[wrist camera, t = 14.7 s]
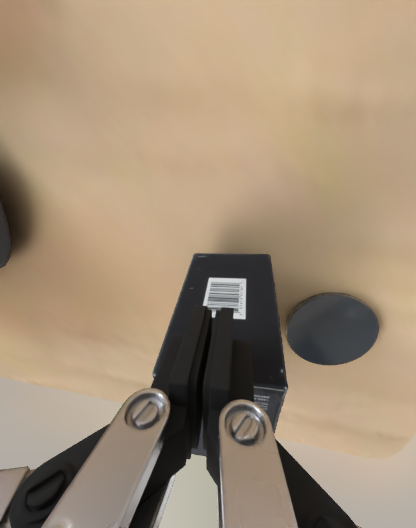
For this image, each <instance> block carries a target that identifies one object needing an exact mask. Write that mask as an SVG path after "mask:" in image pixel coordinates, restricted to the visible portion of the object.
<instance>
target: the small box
mask: <svg viewBox="0 0 416 528" xmlns="http://www.w3.org/2000/svg"><path fill="white" fill-rule="evenodd" d="M195 305H202V306H207V307H208V309H211V310H212V331H213V325H214V320H215V314H216V310H221V307H229V308H234V315H233V334H232V339H235V340H246V341H251V350H252V368H253V387H254V403H256V404H257V405H259V406H260V407H261V408H263V410H264V411H265V412H266V414H267V415H268V417H269V419H270V422H271V425H272V429H273V433H275V429H276V426H277V422H278V417H279V414H280V412H281V407H282V405H283V402H284V398H285V395H286V392H287V390H288V384H287V380H286V370H285V362H284V354H283V345H282V337H281V330H280V321H279V315H278V308H277V301H276V293H275V284H274V279H273V272H272V265H271V257H270V255H268V254H211V253H204V254H202V253H197V254H196V253H195V254H194V255H193V258H192V261H191V264H190V267H189V269H188V272H187V275H186V278H185V281H184V284H183V287H182V290H181V292H180V295H179V298H178V301H177V304H176V307H175V310H174V313H173V315H172V318H171V321H170V324H169V327H168V330H167V333H166V335H165V338H164V341H163V344H162V347H161V350H160V353H159V356H158V358H157V361H156V364H155V367H154V370H153V378H155V376H156V374H157V371H158V369H159V366H160V364H161V362H162V359H163V357H164V354H165V352H166V349H167V347H168V345H169V342H170V340H171V337H172V335H173V334H181V335H184V334H185V331H186V329H187V326H188V323H189V320H190V317H191V314H192V311H193V308H194V306H195ZM191 454H195V455H202V456H206V457H207V450H203V419H202V426H201V432H200V439H199V445H198V449H195V448H192V452H191Z"/></svg>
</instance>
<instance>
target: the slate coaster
mask: <svg viewBox="0 0 416 528" xmlns="http://www.w3.org/2000/svg"><path fill="white" fill-rule="evenodd" d="M378 333H379V324H378V320H377V317H376V315H375V313H374V312H373V311H372V310H371V308H370V307H369V306H368V305H367V304H366V303H364V302H363V301H362V300H360V299H358V298H356V297H354V296H351V295H347V294H343V293H325V294H320V295H316V296H313V297H311V298H309V299H307V300H305V301H303V302H302V303H300V304H299V305H298V306H297V307H296V308H295V309H294V310H293V311H292V312H291V314H290V315H289V317H288V320H287V323H286V336H287V340H288V343H289V345H290V347H291V348H292V350H293V351H294V352H295V353H296V354H297V355H298V356H300V357H301V358H303V359H305V360H307V361H309V362H312V363H315V364H320V365H339V364H344V363H348V362H351V361H353V360H355V359H357V358H359V357H361V356H362V355H364V354H365V353H366V352H367V351H368V350H370V348H371V347H372V346H373V345H374V343H375V341H376V339H377V337H378Z"/></svg>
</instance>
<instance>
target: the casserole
mask: <svg viewBox="0 0 416 528" xmlns="http://www.w3.org/2000/svg"><path fill="white" fill-rule="evenodd" d="M10 254H11V238H10V231H9V225H8V222H7V218H6V215H5V212H4V209H3V206H2V203H1V201H0V268H1V267H3V266H5V265H6V263H7V261H8V260H9V258H10Z"/></svg>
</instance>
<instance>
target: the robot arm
mask: <svg viewBox="0 0 416 528" xmlns="http://www.w3.org/2000/svg"><path fill="white" fill-rule="evenodd" d="M233 315H234V308H229V307H221V310H216V314H215V320H214V325H213V331H212V310H211V309H208V307H207V306H202V305H195V306H194V308H193V311H192V314H191V317H190V320H189V323H188V326H187V329H186V331H185V334H184V335H181V334H173V335H172V337H171V340H170V342H169V345H168V347H167V349H166V352H165V354H164V357H163V359H162V362H161V364H160V366H159V369H158V371H157V374H156V376H155V378H154V381H153V383H152V386H151V388H147V389H142V390H140V391H137V392H135V393H134V394H133V395H131V396H130V397H129V398H128V399H127V400H126V401H125V402H124V404H123V405H122V407H121V408H120V410H119V411H118V413H117V414H116V416H115V417H114V419H113V420H112V422H111V423H110V424H108V425H107V426H105V427H103V428H102V429H100V430H98V431H97V432H95V433H93V434H92V435H90V436H88V437H87V438H85V439H83V440H82V441H80V442H78V443H77V444H75V445H73V446H72V447H70V448H68V449H67V450H65V451H63V452H62V453H60V454H58V455H57V456H55V457H53V458H52V459H50V460H48V461H47V462H45V463H44V464H42V465H41V466H40V467H38V468H37V469H34V470H30V469H29V467H28V466H27V467H20V468H11V469H3V470H0V528H158V527H159V524H160V521H161V518H162V515H163V512H164V509H165V506H166V504H167V501H168V498H169V495H170V492H171V489H172V486H173V483H174V479H175V474H176V473H177V472H178V471H179V470H180V469H181V468H183V467H184V466H185V464H186V459H190V458H191V452H192V448H195V449H198V445H199V439H200V432H201V426H202V419H203V450H207V470H208V472H209V473H210V475H211V477H212V478H213V480H214V481H215V483H216V485H217V504H218V528H361V527H359V526H356V525H355V524H354V522H353V521H352V520H351V519H350V517H349V516H348V515H347V514H346V513H345V512H344V511H343V510H342V509H341V508H340V507H339V505H338V504H337V503H335V501H334V500H333V499H332V498H331V497H330V496H329V495H328V494H327V493H326V492H325V491H324V490H323V489H322V488H321V487H320V485H319V484H318V483H317V482H316V481H315V480H314V479H313V478H312V477H311V476H310V475H309V474H308V473H307V472H306V471H305V470H304V469H303V468H302V467H301V465H300V464H299V463H298V462H297V461H296V460H295V459H294V458H293V457H292V456H291V455H290V454H289V453H288V452H287V451H286V450H285V449H284V448H283V446H282V445H281V444H280V443H279V442H278V441H277V440H276V439H275V436H274V433H273V429H272V425H271V422H270V419H269V417H268V415H267V414H266V412H265V411H264V410H263V408H261V407H260V406H259V405H257V404H256V403H254V387H253V368H252V350H251V341H246V340H235V339H232V334H233Z"/></svg>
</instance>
